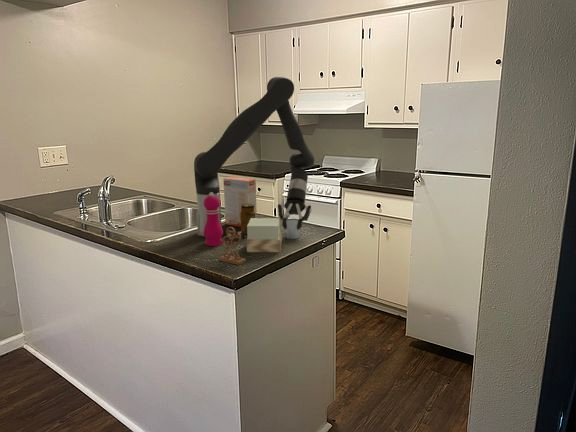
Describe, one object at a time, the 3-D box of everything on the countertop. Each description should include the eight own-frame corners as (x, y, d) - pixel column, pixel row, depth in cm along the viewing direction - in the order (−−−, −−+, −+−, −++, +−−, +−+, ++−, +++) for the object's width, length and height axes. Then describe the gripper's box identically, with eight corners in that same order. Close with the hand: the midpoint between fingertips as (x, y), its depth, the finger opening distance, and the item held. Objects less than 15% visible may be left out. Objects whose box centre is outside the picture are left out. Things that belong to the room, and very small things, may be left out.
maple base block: (246, 253, 157) (246, 239, 156) (251, 242, 169) (250, 230, 168) (280, 253, 157) (279, 239, 155) (282, 242, 168) (281, 230, 167)
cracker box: (257, 226, 190) (256, 178, 185) (248, 229, 186) (246, 180, 180) (234, 221, 198) (232, 175, 193) (224, 224, 194) (222, 177, 188)
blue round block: (286, 239, 171) (285, 221, 170) (286, 235, 176) (286, 218, 175) (298, 239, 171) (298, 221, 170) (298, 235, 176) (298, 218, 174)
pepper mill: (214, 239, 172) (212, 189, 167) (227, 243, 167) (225, 191, 162) (200, 244, 166) (197, 192, 162) (213, 247, 162) (210, 195, 157)
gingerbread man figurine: (218, 260, 149) (216, 226, 146) (226, 256, 152) (224, 223, 149) (239, 265, 144) (237, 230, 141) (246, 261, 148) (245, 227, 145)
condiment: (252, 230, 184) (251, 202, 182) (261, 235, 177) (260, 206, 174) (236, 232, 181) (235, 204, 178) (245, 237, 174) (244, 208, 171)
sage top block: (247, 239, 156) (247, 226, 155) (251, 230, 167) (250, 218, 166) (278, 239, 156) (278, 226, 155) (279, 230, 166) (279, 218, 165)
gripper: (278, 186, 178) (272, 222, 169) (313, 187, 175) (308, 224, 166) (281, 196, 184) (275, 232, 176) (315, 197, 181) (310, 233, 173)
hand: (291, 228), depth 171 cm, fingers closed on blue round block, 5 cm apart
